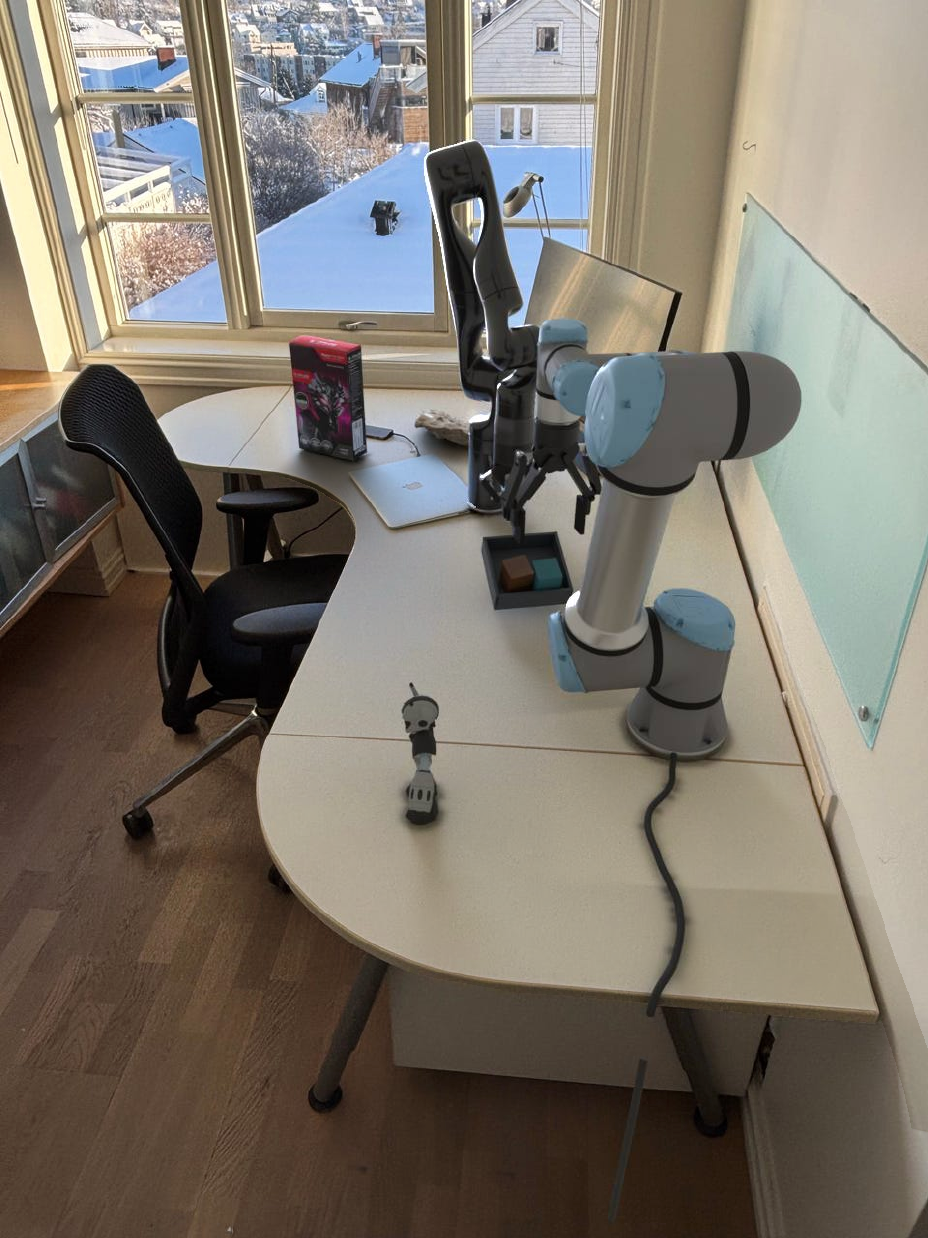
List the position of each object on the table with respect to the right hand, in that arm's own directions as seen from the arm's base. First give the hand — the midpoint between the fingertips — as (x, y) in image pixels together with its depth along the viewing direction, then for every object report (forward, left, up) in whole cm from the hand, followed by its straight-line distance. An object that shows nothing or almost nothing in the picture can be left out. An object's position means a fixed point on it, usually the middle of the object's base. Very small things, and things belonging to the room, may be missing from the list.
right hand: (549, 536), depth 163 cm
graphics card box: (+56, +65, -15) cm, 87 cm away
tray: (+7, +6, -9) cm, 13 cm away
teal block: (0, +1, -11) cm, 12 cm away
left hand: (+15, +10, -5) cm, 19 cm away
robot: (-54, +7, -15) cm, 57 cm away
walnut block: (-1, +6, -11) cm, 13 cm away
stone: (+72, +39, -15) cm, 83 cm away
